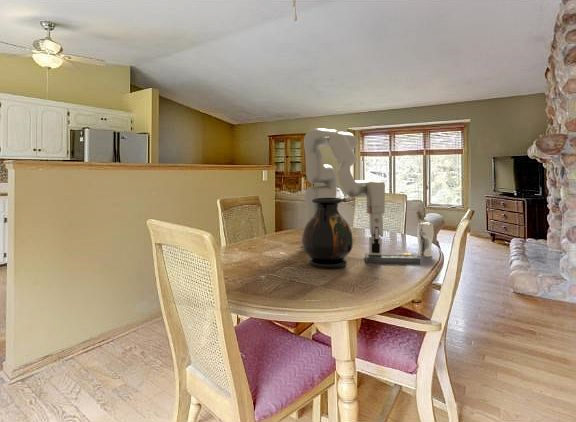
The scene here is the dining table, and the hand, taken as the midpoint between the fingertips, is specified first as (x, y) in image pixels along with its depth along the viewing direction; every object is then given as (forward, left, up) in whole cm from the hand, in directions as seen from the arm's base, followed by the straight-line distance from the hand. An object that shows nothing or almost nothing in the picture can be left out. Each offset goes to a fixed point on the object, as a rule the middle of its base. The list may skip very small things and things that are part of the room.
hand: (375, 251), depth 153 cm
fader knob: (0, 0, -1) cm, 1 cm away
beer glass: (+14, +22, -4) cm, 26 cm away
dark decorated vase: (-13, -17, -5) cm, 22 cm away
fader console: (+6, +4, -4) cm, 8 cm away
